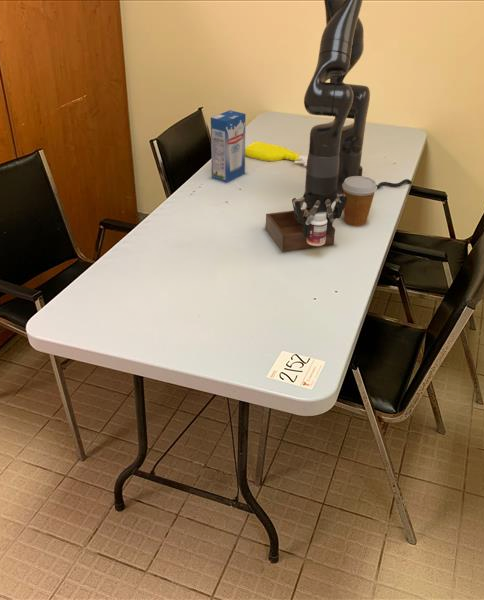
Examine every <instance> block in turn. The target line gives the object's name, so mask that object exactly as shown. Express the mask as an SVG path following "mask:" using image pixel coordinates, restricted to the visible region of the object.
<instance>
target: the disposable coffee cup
mask: <svg viewBox="0 0 484 600" xmlns="http://www.w3.org/2000/svg"><path fill="white" fill-rule="evenodd" d="M376 185H377V182H376V180H374V179H373V178H371V177H368V176H363V175H362V176H352V177H348V178H346V179H345V181H344V183H343V184H342V187H343V190H344V195H345V196H346V197H347V201H346V204H345V207H344V209H343V222H344V223H345V224H346V225H349V226H352V227H363V226H365V225H366V224H367V222H368V217H369V215H370V211H371V207H372V204H373V199H374V196H375V193H376V192H377V189H378V188H377V186H376Z"/></svg>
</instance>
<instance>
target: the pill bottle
mask: <svg viewBox="0 0 484 600" xmlns="http://www.w3.org/2000/svg"><path fill="white" fill-rule="evenodd" d="M326 217H327V212H326V211H319V212H316V213H315V215H314V217H312V220H311V222H310V237H309V238H307V243H308V244H310V245H313V246H321V245H323V244H325V241H326V231H327V219H326Z"/></svg>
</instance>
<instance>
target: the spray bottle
mask: <svg viewBox="0 0 484 600" xmlns="http://www.w3.org/2000/svg"><path fill="white" fill-rule="evenodd" d="M245 157H248V158H251V159H255V160H259V161H264V162H277V161H281V160H290V161H293V163H294V164H302V165H303V166H304V167H305V168H306V166H307V158H308V156H307V155H301V154H300V153H297V152H295V151H292V150H290V149H289V148H287V147H284V146H280V145H277V144H272V143H267V142H261V141H253V142H252V143H251V144H249V145H246V146H245Z"/></svg>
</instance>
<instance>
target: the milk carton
mask: <svg viewBox="0 0 484 600" xmlns="http://www.w3.org/2000/svg"><path fill="white" fill-rule="evenodd" d="M246 116H247V114H246V113H245V112H239V111H235V110H227V111H225V112H222V113H219V114H216V115H213V116H211V117H210V143H211V144H210V151H211V152H210V155H211V179H214V180H217V181H220V182H223V183H226V184H227V183H229V182H231V181H234V180H235V179H237V178H240V177H241V176H243V175H245V174H246V155H245V149H246Z"/></svg>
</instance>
